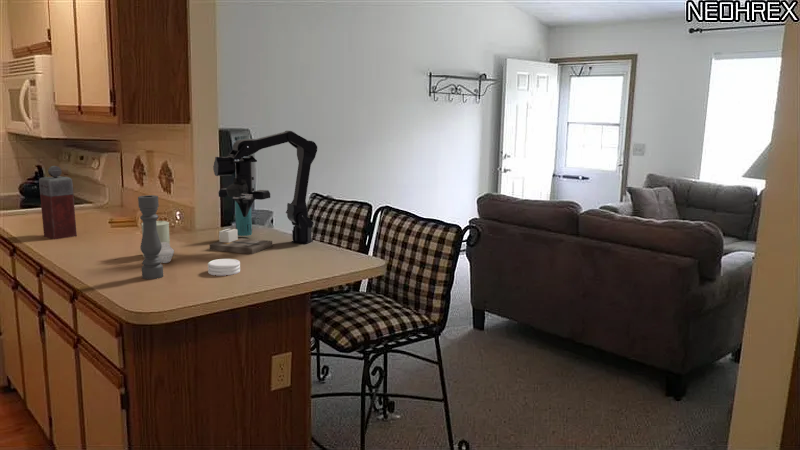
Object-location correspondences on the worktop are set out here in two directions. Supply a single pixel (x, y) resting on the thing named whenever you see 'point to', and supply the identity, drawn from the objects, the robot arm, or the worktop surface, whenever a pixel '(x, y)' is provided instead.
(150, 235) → the candle holder
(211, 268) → the white flat disc
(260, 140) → the robot arm
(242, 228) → the beverage bottle
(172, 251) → the muffin
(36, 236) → the worktop surface
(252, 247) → the fader console
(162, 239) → the can
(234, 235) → the fader knob
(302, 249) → the worktop surface
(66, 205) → the red lidded canister
